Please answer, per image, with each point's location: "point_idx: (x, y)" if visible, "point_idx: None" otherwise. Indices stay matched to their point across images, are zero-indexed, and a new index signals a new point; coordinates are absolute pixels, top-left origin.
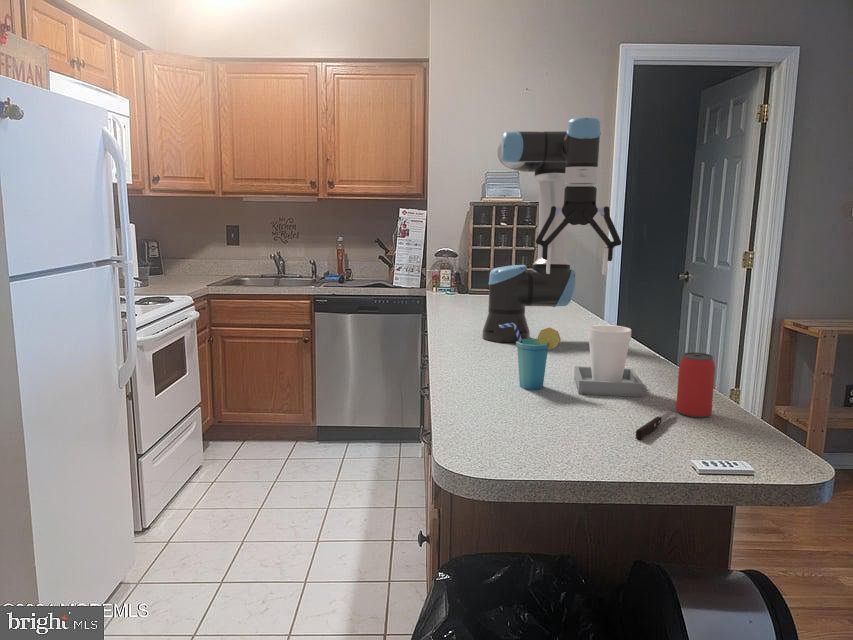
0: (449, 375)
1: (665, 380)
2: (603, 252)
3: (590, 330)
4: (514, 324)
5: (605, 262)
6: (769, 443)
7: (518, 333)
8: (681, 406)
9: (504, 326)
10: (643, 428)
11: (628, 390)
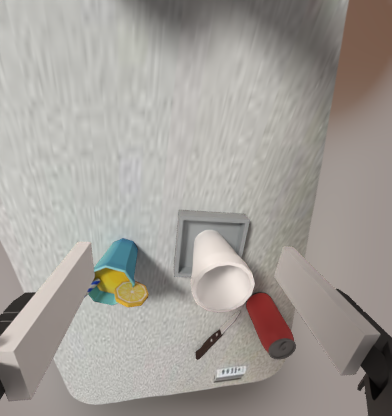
0: (9, 213)
1: (283, 207)
2: (339, 311)
3: (193, 294)
4: None
5: (301, 311)
6: None
7: None
8: (248, 312)
9: None
10: (201, 356)
11: None
